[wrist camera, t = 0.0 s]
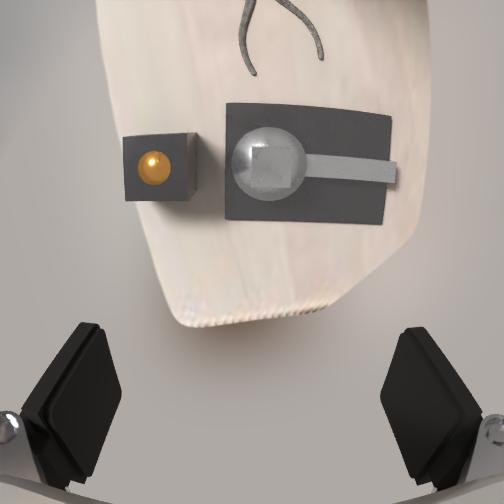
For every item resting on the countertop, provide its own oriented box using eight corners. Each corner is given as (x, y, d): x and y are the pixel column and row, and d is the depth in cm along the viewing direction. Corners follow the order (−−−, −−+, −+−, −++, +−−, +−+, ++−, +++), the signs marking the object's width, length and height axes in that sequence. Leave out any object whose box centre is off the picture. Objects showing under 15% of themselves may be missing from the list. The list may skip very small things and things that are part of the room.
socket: (140, 135, 36) (122, 137, 30) (196, 132, 36) (186, 133, 31) (141, 190, 39) (125, 201, 33) (196, 190, 39) (187, 200, 33)
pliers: (259, 87, 34) (181, -33, 27) (259, 88, 35) (183, -30, 28) (332, 55, 32) (250, -62, 26) (330, 56, 33) (250, -59, 26)
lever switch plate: (226, 103, 35) (222, 98, 29) (393, 116, 35) (415, 116, 30) (225, 218, 40) (221, 233, 34) (383, 223, 40) (402, 238, 35)
